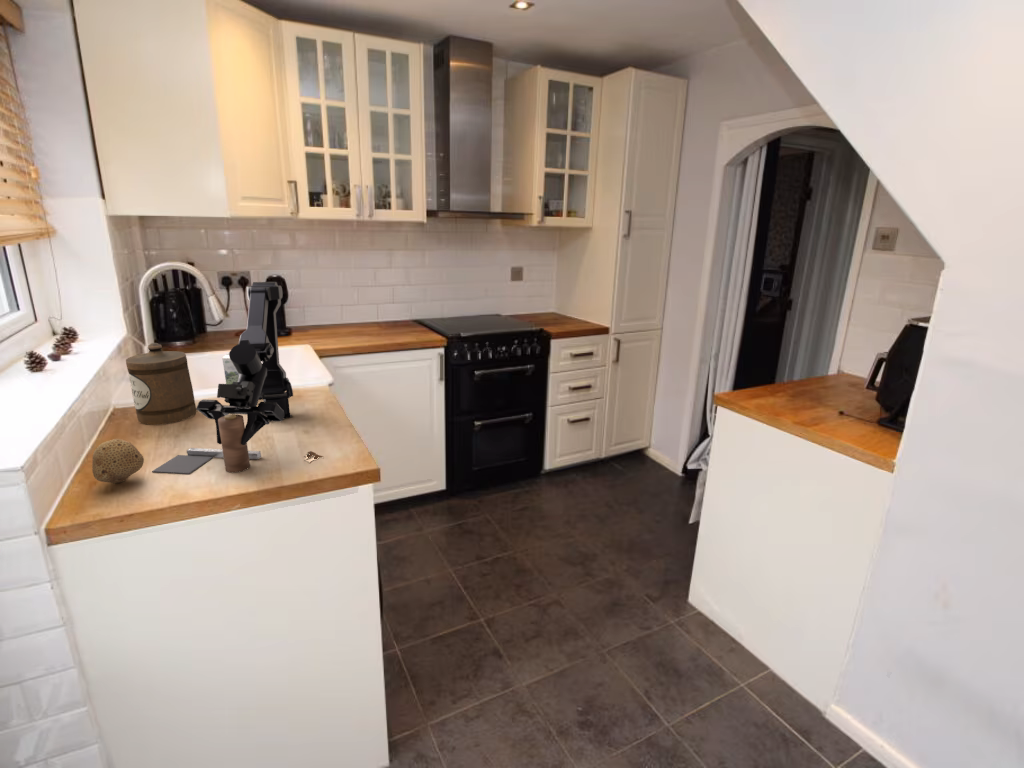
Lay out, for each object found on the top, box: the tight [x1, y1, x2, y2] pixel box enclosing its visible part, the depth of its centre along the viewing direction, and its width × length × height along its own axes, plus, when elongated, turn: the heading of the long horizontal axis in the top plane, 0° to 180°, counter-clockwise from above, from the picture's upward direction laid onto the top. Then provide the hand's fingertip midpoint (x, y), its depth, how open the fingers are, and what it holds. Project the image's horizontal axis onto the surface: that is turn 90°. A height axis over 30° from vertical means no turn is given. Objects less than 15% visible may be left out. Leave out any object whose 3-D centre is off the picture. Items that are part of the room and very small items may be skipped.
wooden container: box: [125, 342, 197, 426], centre depth 155 cm, size 15×15×22 cm
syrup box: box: [221, 353, 240, 384], centre depth 173 cm, size 6×6×14 cm
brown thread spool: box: [218, 414, 251, 473], centre depth 125 cm, size 5×5×13 cm
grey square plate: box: [151, 454, 214, 475], centre depth 128 cm, size 9×9×1 cm
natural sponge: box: [91, 438, 145, 484], centre depth 118 cm, size 9×9×10 cm
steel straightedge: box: [186, 447, 262, 460], centre depth 132 cm, size 18×2×2 cm, turn 86°
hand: (230, 444), depth 124 cm, fingers closed on brown thread spool, 5 cm apart
